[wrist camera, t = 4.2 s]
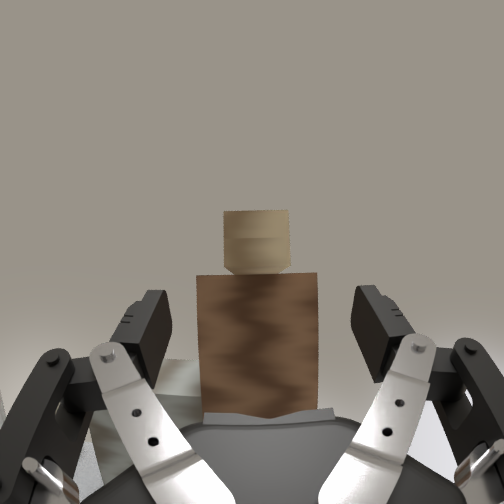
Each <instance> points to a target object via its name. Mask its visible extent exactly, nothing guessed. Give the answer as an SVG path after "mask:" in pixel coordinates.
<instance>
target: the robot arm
mask: <svg viewBox="0 0 504 504" xmlns="http://www.w3.org/2000/svg"><path fill="white" fill-rule="evenodd" d="M351 328H352V331H353V333H354V336H355V338H356V340H357V343H358V345H359V347H360V350H361V352H362V354H363V357H364V359H365V362H366V364H367V366H368V369H369V371H370V374H371V376H372V379H373V381H374V383H380V382H383V383H382V386H381V387H380V390H379V392H378V394H377V396H376V398H375V400H374V402H373V404H372V406H371V408H370V410H369V412H368V413H367V415H366V417H365V419H364V421H363V423H362V424H361V423H359V422H356V421H354V420H351V419H347V418H342V417H335V415H334V411H333V408H325V409H315V410H304V411H299V412H295V413H292V414H288V415H284V416H281V417H277V418H273V419H265V418H259V417H253V416H248V415H243V414H238V413H208V412H204V419H203V421H202V422H197V423H193V424H190V425H187V426H184V427H182V428H180V429H177V427H176V426H175V425H174V423H173V422H172V420H171V419H170V417H169V416H168V414H167V413H166V411H165V410H164V408H163V407H162V405H161V404H160V402H159V401H158V399H157V398H156V396H155V394H154V393H153V391H152V390H151V389H154V388H155V384H156V381H157V378H158V375H159V371H160V368H161V365H162V362H163V359H164V356H165V352H166V349H167V346H168V343H169V340H170V337H171V333H172V319H171V314H170V309H169V303H168V298H167V293H166V291H165V290H147V292H146V294H145V295H144V297H143V299H142V301H136V302H135V303H134V304H132V305H131V306H130V307H128V309H127V311H126V313H125V314H124V317H123V318H122V319H121V323H119V325H118V327H117V328H116V330H115V332H114V334H113V335H112V337H111V339H110V341H109V342H106V343H103V344H100V345H98V346H96V347H95V348H94V349H93V350H92V352H91V353H90V356H89V357H83V358H76V359H71V357H70V355H69V353H68V352H67V351H66V350H65V349H61V348H57V349H52V350H49V351H47V352H46V353H44V354H43V355H42V356H41V357H40V359H39V361H38V362H37V364H36V366H35V367H34V369H33V370H32V372H31V374H30V375H29V377H28V379H27V381H26V382H25V384H24V386H23V388H22V389H21V391H20V393H19V395H18V397H17V398H16V400H15V402H14V404H13V406H12V408H11V410H10V411H9V413H8V415H7V417H6V419H5V421H4V423H3V425H2V427H1V429H0V504H79V489H78V487H77V485H76V483H75V482H74V481H73V477H74V473H75V470H76V466H77V463H78V460H79V456H80V453H81V450H82V447H83V443H84V440H85V437H86V434H87V431H88V428H89V425H90V422H91V419H92V416H93V413H94V411H100V410H108V412H109V414H110V416H111V418H112V421H113V423H114V425H115V427H116V429H117V431H118V434H119V436H120V438H121V440H122V442H123V444H124V446H125V448H126V450H127V452H128V454H129V455H130V457H131V459H132V461H133V463H134V464H133V465H131V466H130V467H129V468H127V469H126V470H125V471H123V472H122V473H121V474H119V475H118V476H116V477H115V478H114V479H112V480H111V481H110V482H108V483H107V484H105V485H104V486H102V487H101V488H100V489H98V490H97V491H95V492H94V493H92V494H91V495H89V496H88V497H87V498H85V499H84V500H83V501H82V502H81V503H80V504H504V377H503V375H502V374H501V372H500V371H499V369H498V368H497V366H496V365H495V363H494V362H493V360H492V359H491V358H490V356H489V354H488V353H487V352H486V350H485V349H484V347H483V346H482V345H481V344H480V343H479V342H477V341H476V340H473V339H471V338H461V339H458V340H457V341H456V342H455V345H454V347H453V349H451V348H439V347H436V345H435V343H434V342H433V341H432V340H431V339H430V338H429V337H427V336H425V335H422V334H416V333H415V331H414V330H413V328H412V327H411V325H410V324H409V322H408V321H407V319H406V318H405V317H404V316H403V313H402V312H401V311H400V310H399V308H398V306H397V305H396V304H395V302H394V301H393V300H391V299H390V298H388V297H387V296H382V295H381V294H380V292H379V291H378V289H377V288H376V286H375V285H364V286H357V287H356V290H355V296H354V302H353V308H352V313H351ZM466 389H467V390H468V392H469V393H470V395H471V397H472V401H473V406H471V404H470V402H469V400H468V398H467V396H466V394H465V391H466ZM426 400H429V401H432V403H433V405H434V407H435V409H436V412H437V414H438V417H439V419H440V421H441V424H442V426H443V428H444V431H445V434H446V436H447V439H448V441H449V444H450V446H451V449H452V452H453V455H454V457H455V460H456V463H457V466H458V467H457V469H456V471H455V474H454V481H455V483H452V482H451V481H449V480H448V479H446V478H444V477H443V476H441V475H439V474H438V473H436V472H434V471H433V470H431V469H430V468H428V467H426V466H424V465H423V464H422V463H420V462H418V461H417V460H415V459H414V458H412V457H411V456H409V455H407V452H408V450H409V447H410V445H411V442H412V439H413V437H414V434H415V431H416V428H417V425H418V422H419V420H420V417H421V414H422V411H423V407H424V404H425V401H426ZM59 402H60V405H59ZM58 405H59V407H58ZM57 407H58V409H57ZM56 409H57V412H56ZM55 412H56V414H55Z"/></svg>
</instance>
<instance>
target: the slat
mask: <svg viewBox="0 0 504 504" xmlns="http://www.w3.org/2000/svg"><path fill="white" fill-rule="evenodd" d="M289 266H291V260H290V235H289V213H288V210H257V211H224V267H225V268H226V269H228V270H229V271H230V272H232V273H233V274H234V275H250V274H278V273H280V272H281V271H283V270H284V269H286V268H287V267H289Z"/></svg>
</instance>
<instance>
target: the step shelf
mask: <svg viewBox="0 0 504 504" xmlns="http://www.w3.org/2000/svg"><path fill="white" fill-rule="evenodd" d="M196 282H197V283H196V284H197V324H198V348H199V360H176V359H163V362H162V365H161V368H160V371H159V375H158V378H157V381H156V384H155V388H154V389H151V390H152V391H153V393H154V394H155V396H156V398H157V399H158V401H159V402H160V404H161V405H162V407H163V408H164V410H165V411H166V413H167V414H168V416H169V417H170V419H171V420H172V422H173V423H174V425H175V426H176V427H177V429H180V428H182V427H184V426H187V425H190V424H193V423H197V422H202V421H203V419H204V412H208V413H238V414H243V415H248V416H253V417H259V418H265V419H273V418H277V417H281V416H284V415H288V414H292V413H295V412H299V411H304V410H315V409H317V403H318V400H317V399H318V287H317V273H288V274H250V275H199V276H196ZM89 428H90V433H91V438H92V442H93V446H94V451H95V455H96V458H97V462H98V466H99V470H100V473H101V477H102V480H103V483H104V485H105V484H107V483H108V482H110V481H111V480H112V479H114V478H115V477H116V476H118V475H119V474H121V473H122V472H123V471H125V470H126V469H127V468H129V467H130V466H131V465H133V464H134V463H133V461H132V459H131V457H130V455H129V454H128V452H127V450H126V448H125V446H124V444H123V442H122V440H121V438H120V436H119V434H118V431H117V429H116V427H115V425H114V423H113V421H112V418H111V416H110V414H109V412H108V410H100V411H94V413H93V416H92V419H91V422H90V425H89Z"/></svg>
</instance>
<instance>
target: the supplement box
mask: <svg viewBox="0 0 504 504" xmlns="http://www.w3.org/2000/svg"><path fill="white" fill-rule="evenodd" d="M5 419H6V414H5V411H4V406H3V401H2V397H1V392H0V429H1V427H2V425H3V423H4V421H5Z"/></svg>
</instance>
